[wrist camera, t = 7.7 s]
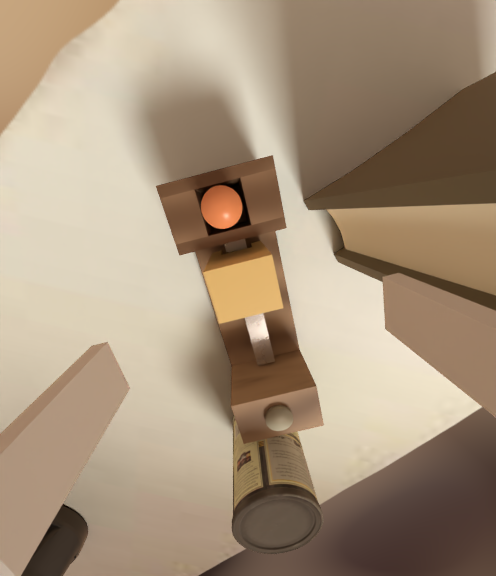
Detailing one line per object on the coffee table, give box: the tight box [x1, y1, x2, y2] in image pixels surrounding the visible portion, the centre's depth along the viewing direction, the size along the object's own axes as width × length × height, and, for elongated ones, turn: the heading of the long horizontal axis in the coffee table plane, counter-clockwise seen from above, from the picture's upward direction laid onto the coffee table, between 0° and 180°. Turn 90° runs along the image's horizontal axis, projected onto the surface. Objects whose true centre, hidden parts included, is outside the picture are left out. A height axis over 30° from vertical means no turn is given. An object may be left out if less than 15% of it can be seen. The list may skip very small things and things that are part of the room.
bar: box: [224, 239, 275, 365], centre depth 31 cm, size 17×2×2 cm, turn 14°
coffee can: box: [232, 417, 323, 554], centre depth 34 cm, size 10×10×14 cm
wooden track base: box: [156, 155, 324, 444], centre depth 29 cm, size 30×10×10 cm, turn 14°
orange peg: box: [201, 185, 242, 229], centre depth 20 cm, size 3×3×6 cm
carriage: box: [203, 241, 283, 324], centre depth 26 cm, size 5×6×9 cm
